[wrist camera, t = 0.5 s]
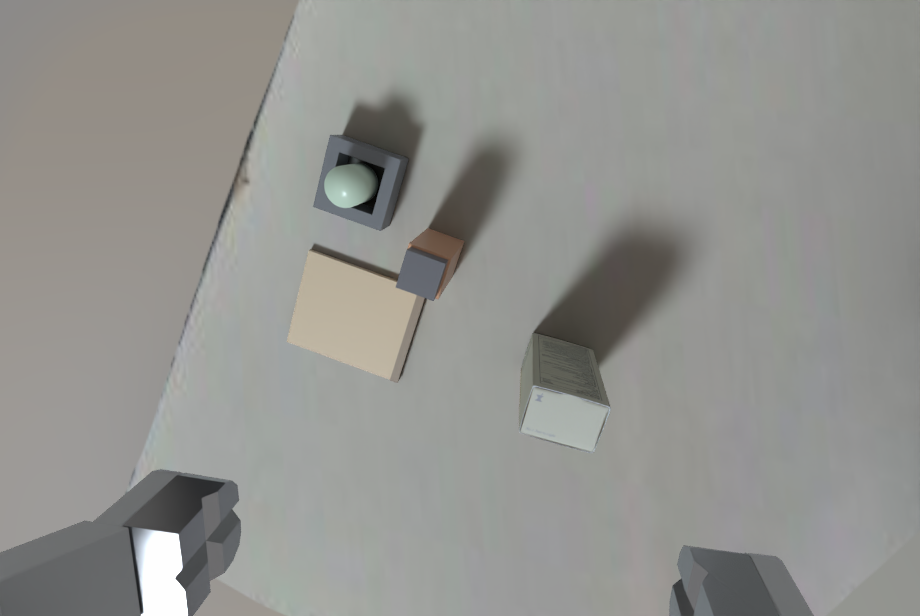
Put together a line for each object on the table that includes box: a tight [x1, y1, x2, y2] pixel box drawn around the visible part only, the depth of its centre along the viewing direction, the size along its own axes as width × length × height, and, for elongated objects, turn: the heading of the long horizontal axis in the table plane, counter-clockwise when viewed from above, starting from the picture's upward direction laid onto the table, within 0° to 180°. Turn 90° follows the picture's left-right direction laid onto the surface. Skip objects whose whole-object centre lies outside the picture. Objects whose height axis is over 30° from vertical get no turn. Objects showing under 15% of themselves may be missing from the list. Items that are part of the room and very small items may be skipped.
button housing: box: [313, 135, 409, 231], centre depth 50 cm, size 6×6×3 cm
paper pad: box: [287, 249, 425, 383], centre depth 55 cm, size 10×12×1 cm
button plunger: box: [324, 163, 378, 208], centre depth 47 cm, size 3×3×4 cm
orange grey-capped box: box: [396, 228, 464, 301], centre depth 48 cm, size 4×4×9 cm
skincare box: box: [519, 333, 611, 453], centre depth 48 cm, size 6×4×12 cm
